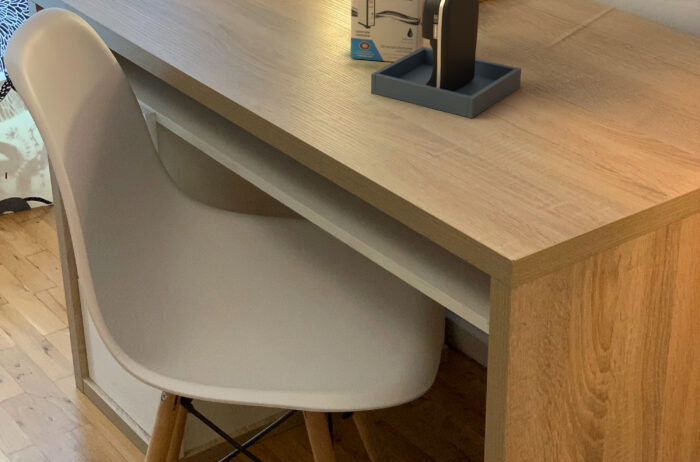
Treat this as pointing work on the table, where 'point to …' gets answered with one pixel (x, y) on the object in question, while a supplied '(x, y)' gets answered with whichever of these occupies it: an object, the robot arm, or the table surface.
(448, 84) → the battery charger
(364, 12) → the ink box
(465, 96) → the tray
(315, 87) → the table surface
